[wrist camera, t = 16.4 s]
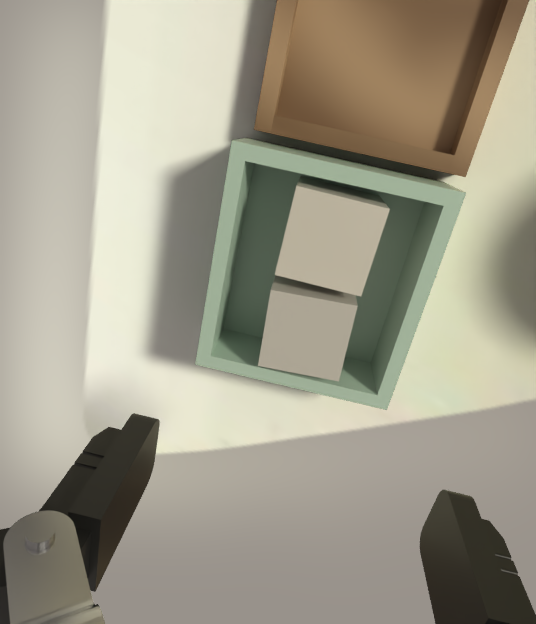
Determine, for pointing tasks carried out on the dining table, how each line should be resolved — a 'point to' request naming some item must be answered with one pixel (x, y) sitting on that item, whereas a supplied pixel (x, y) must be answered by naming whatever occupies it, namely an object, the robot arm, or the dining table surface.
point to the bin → (371, 305)
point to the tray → (388, 75)
